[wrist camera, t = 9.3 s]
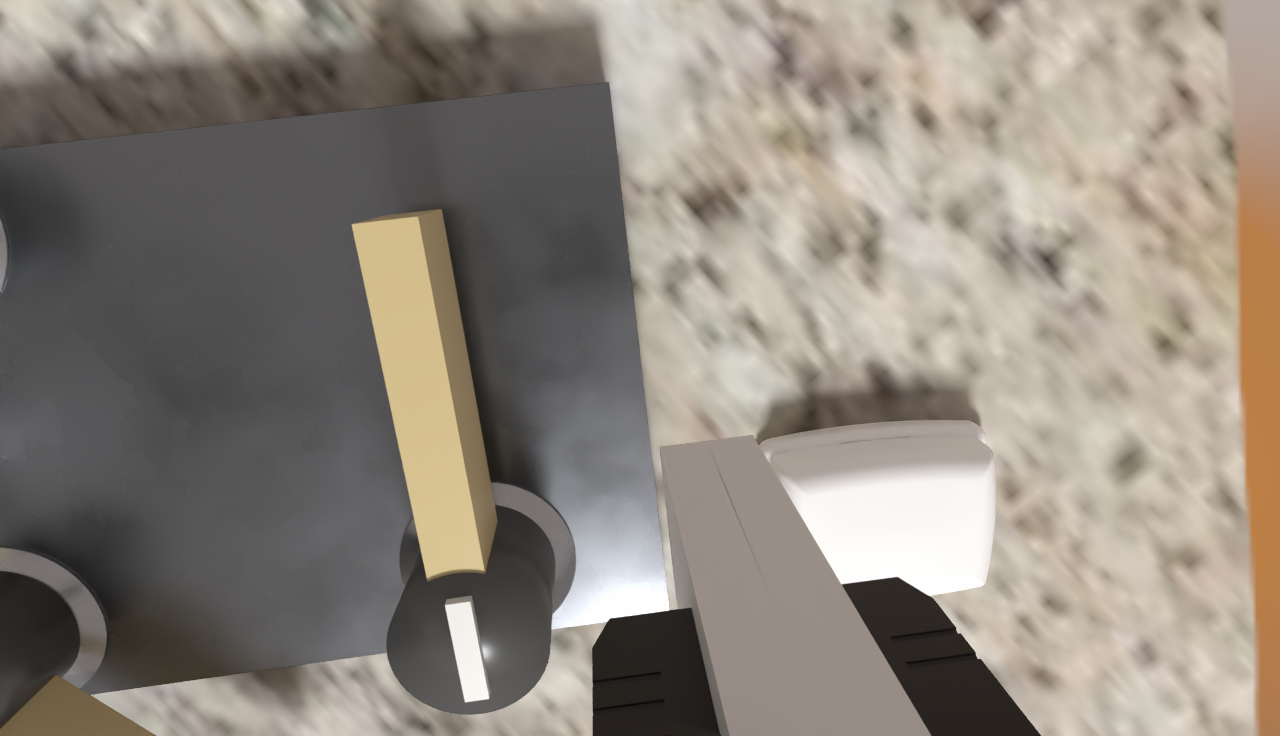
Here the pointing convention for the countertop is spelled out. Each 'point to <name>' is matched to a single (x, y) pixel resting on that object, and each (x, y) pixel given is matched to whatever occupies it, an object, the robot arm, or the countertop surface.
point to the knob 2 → (450, 490)
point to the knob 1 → (45, 668)
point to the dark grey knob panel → (306, 375)
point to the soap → (895, 499)
